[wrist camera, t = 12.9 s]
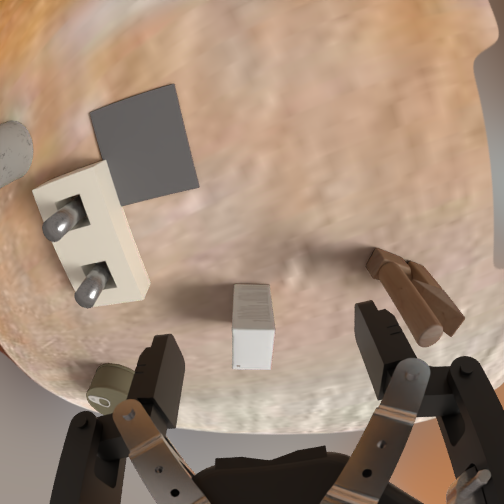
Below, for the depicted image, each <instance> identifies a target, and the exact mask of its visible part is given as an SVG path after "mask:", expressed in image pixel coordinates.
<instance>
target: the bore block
mask: <svg viewBox="0 0 504 504" xmlns="http://www.w3.org/2000/svg"><path fill="white" fill-rule="evenodd" d="M32 192H33V195H34V198H35V201H36V203H37V206H38V209H39V211H40V214H41V216H42V219H43V222H45V221H46V220H47V219H48V218H49V217H51V216H52V215H53V214H54V213H56V212H57V211H58V210H60V209H61V208H62V207H64V206H65V205H66V204H68V203H69V202H70V201H72V198H71V196H74V195H77V194H80V197H81V199H82V202H83V205H84V208H85V211H86V213H87V216H88V217H86V218H83V219H81V220H80V221H79V222H78V223H77V224H76V225H75V226H74V227H73V228H72V229H71V230H70V231H68V232H67V233H66V234H65V235H64V236H63V237H62V238H61V239H60V240H59V241H57V242H52V243H53V246H54V248H55V250H56V252H57V255H58V257H59V259H60V261H61V263H62V265H63V268H64V270H65V272H66V274H67V276H68V278H69V280H70V282H71V284H72V286H73V288H74V290H75V292H76V291H77V289H78V288H79V286H80V285H81V284H82V282H83V281H84V279H85V278H86V276H87V275H88V274H89V272H90V271H91V269H92V268H93V267H94V265H95V264H96V263H97V262H102V261H106V263H107V266H108V268H109V270H110V272H111V277H110V279H109V280H108V282H107V284H106V285H105V287H104V288H103V290H102V292H101V294H100V295H99V297H98V299H97V300H96V302H95V304H94V305H93V307H97V306H105V305H112V304H119V303H126V302H133V301H139V300H144V298H145V295H146V293H147V291H148V288H149V286H150V283H151V282H150V279H149V277H148V275H147V272H146V270H145V267H144V264H143V262H142V259H141V257H140V254H139V252H138V249H137V246H136V244H135V241H134V238H133V236H132V233H131V230H130V227H129V224H128V222H127V219H126V216H125V213H124V210H123V207H122V206H121V205H120V202H119V199H118V196H117V193H116V190H115V187H114V184H113V181H112V178H111V174H110V171H109V168H108V164H107V161H106V160H102V161H99V162H97V163H94V164H91V165H88V166H85V167H83V168H80V169H77V170H74V171H72V172H69V173H66V174H64V175H61V176H59V177H56V178H54V179H51V180H49V181H47V182H45V183H43V184H42V185H40V186H38V187H37V188H35V189H33V190H32Z"/></svg>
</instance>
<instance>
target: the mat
mask: <svg viewBox="0 0 504 504" xmlns="http://www.w3.org/2000/svg"><path fill="white" fill-rule="evenodd" d="M90 115H91V119H92V123H93V127H94V131H95V134H96V138H97V142H98V145H99V149H100V152H101V156H102V159H103V160H106V161H107V164H108V168H109V171H110V174H111V178H112V181H113V184H114V187H115V190H116V193H117V196H118V199H119V202H120V205H121V206H125V205H129V204H133V203H137V202H141V201H144V200H148V199H152V198H157V197H161V196H165V195H169V194H173V193H177V192H182V191H186V190H191V189H195V188H199V183H198V179H197V175H196V171H195V167H194V163H193V159H192V155H191V151H190V147H189V143H188V139H187V135H186V131H185V127H184V123H183V118H182V114H181V110H180V106H179V101H178V97H177V93H176V89H175V84H172V85H168V86H165V87H161V88H158V89H155V90H151V91H148V92H145V93H142V94H139V95H136V96H133V97H130V98H127V99H124V100H122V101H119V102H116V103H113V104H111V105H108V106H105V107H103V108H100V109H98V110H95V111H93V112H90Z"/></svg>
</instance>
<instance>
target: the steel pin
mask: <svg viewBox="0 0 504 504" xmlns="http://www.w3.org/2000/svg"><path fill="white" fill-rule="evenodd" d="M86 215H87V213H86V211H85V208H84V205H83V202H82V199H81V197H80V195H78V196H77V197H76V198H74V199H73V200H72V201H70V202H69V203H68V204H66V205H65V206H64V207H62V208H61V209H60V210H58V211H57V212H56V213H54V214H53V215H52V216H51V217H49V218H48V219H47V220H46V221H45V222H44V223H43V226H42V229H43V233H44V235H45V237H46V238H47V239H48V240H49V241H51V242H57V241H59V240H60V239H61V238H62V237H63V236H64V235H65V234H66V233H67V232H68V231H70V230H71V229H72V228H73V227H74V226H75V225H76V224H77V223H78V222H79V221H80V220H81V219H83V218H84V217H85V216H86Z"/></svg>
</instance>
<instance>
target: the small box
mask: <svg viewBox="0 0 504 504" xmlns="http://www.w3.org/2000/svg"><path fill="white" fill-rule="evenodd" d="M274 339H275V322H274V314H273V307H272V298H271V291H270V285H256V284H234V295H233V314H232V369H245V370H270V369H271V366H272V357H273V348H274Z"/></svg>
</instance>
